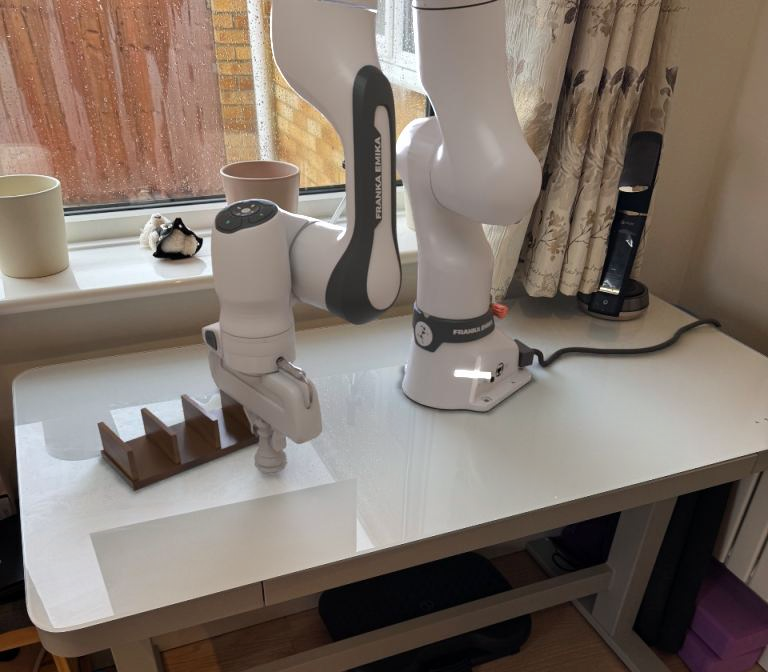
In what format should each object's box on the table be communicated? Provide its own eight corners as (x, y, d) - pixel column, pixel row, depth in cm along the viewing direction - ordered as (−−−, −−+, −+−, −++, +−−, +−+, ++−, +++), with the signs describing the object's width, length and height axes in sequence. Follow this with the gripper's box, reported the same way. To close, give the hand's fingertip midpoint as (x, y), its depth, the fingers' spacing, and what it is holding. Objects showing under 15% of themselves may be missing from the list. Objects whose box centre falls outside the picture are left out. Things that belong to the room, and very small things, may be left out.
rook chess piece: (285, 475, 100) (281, 424, 95) (252, 474, 100) (246, 423, 95) (289, 456, 103) (285, 406, 98) (257, 456, 103) (251, 405, 98)
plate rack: (227, 412, 114) (223, 379, 111) (263, 440, 108) (260, 406, 105) (101, 457, 104) (93, 422, 100) (134, 490, 98) (126, 454, 94)
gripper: (332, 368, 86) (335, 466, 95) (236, 312, 98) (247, 404, 107) (287, 385, 83) (295, 485, 92) (194, 325, 95) (208, 418, 104)
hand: (268, 441), depth 99 cm, fingers closed on rook chess piece, 3 cm apart
